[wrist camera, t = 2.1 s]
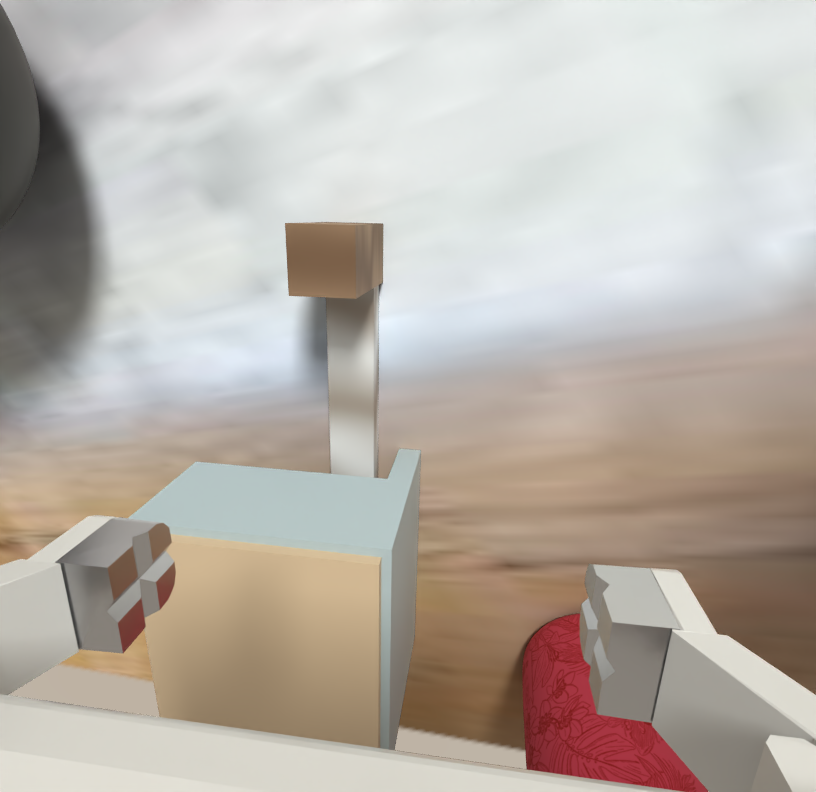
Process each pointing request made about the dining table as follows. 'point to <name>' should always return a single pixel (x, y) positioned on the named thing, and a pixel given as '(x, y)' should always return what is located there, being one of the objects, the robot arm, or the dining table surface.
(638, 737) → the wine bottle
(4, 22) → the coal bowl
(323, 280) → the wood-handled metal tool
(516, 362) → the dining table surface
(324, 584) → the cabinet
